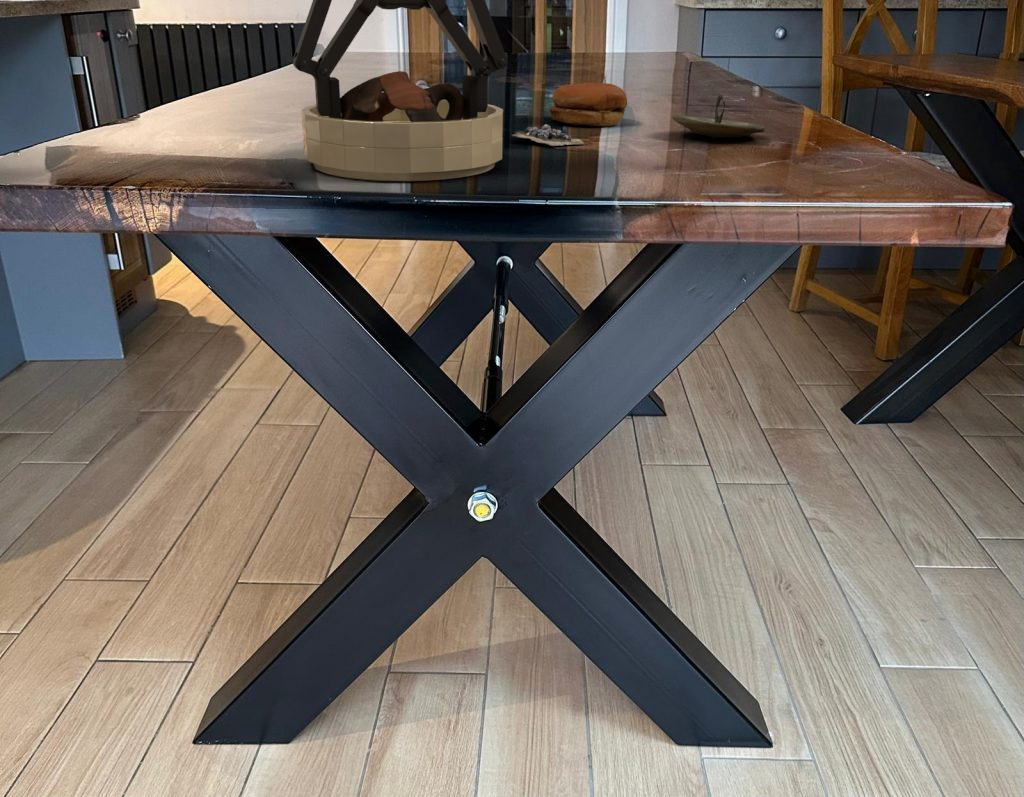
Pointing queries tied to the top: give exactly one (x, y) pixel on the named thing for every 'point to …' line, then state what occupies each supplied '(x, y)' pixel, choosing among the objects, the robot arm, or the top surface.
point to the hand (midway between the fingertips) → (405, 150)
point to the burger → (589, 104)
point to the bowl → (403, 145)
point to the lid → (718, 125)
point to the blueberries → (548, 136)
